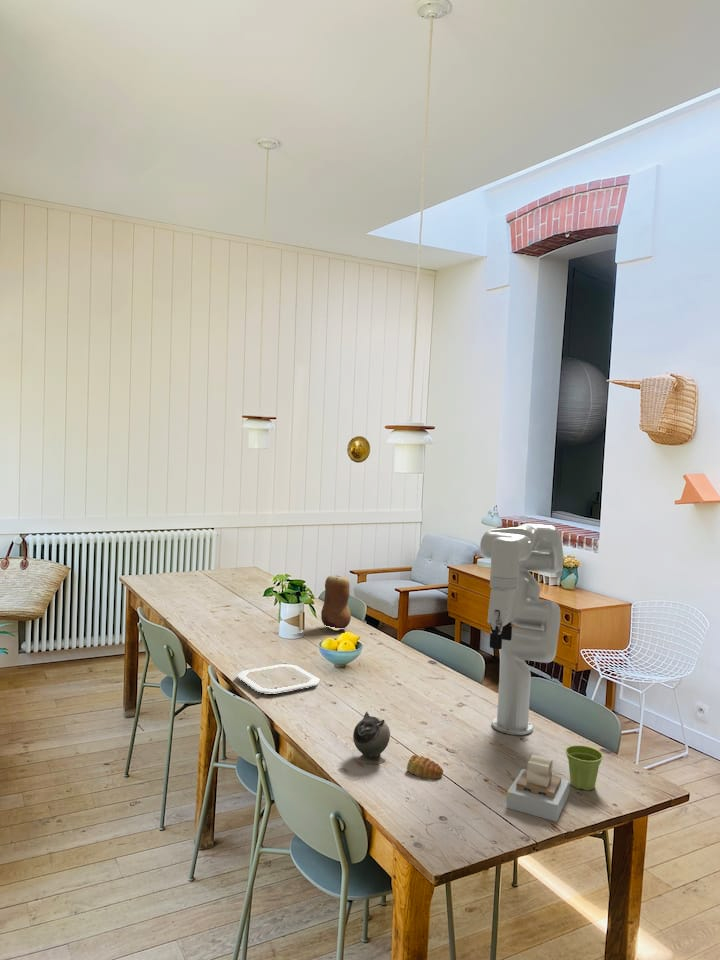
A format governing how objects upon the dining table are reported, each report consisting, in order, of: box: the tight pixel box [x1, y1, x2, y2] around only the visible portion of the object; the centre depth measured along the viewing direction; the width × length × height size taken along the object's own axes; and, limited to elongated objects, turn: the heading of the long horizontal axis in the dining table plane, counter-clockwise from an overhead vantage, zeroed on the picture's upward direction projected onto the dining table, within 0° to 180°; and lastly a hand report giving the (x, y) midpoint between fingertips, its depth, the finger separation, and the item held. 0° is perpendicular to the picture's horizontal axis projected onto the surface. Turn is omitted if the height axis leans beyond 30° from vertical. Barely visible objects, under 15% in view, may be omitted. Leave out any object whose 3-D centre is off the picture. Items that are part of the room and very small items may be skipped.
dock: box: [506, 768, 570, 823], centre depth 176 cm, size 14×12×4 cm
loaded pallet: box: [516, 754, 562, 798], centre depth 176 cm, size 9×9×6 cm
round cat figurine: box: [352, 711, 391, 765], centre depth 196 cm, size 10×12×10 cm
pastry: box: [406, 754, 444, 780], centre depth 189 cm, size 9×7×4 cm
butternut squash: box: [320, 574, 352, 629], centre depth 324 cm, size 14×13×25 cm
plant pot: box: [564, 744, 604, 791], centre depth 186 cm, size 9×9×9 cm
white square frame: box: [236, 663, 321, 694], centre depth 253 cm, size 25×25×2 cm
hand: (500, 643), depth 196 cm, fingers open, 9 cm apart
